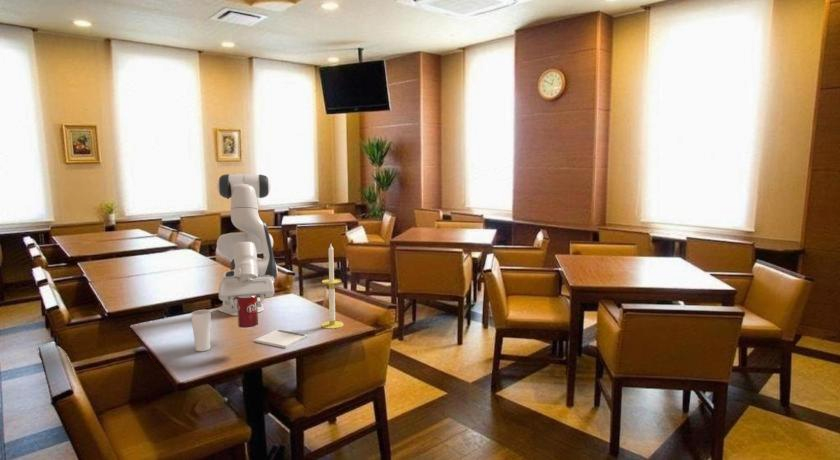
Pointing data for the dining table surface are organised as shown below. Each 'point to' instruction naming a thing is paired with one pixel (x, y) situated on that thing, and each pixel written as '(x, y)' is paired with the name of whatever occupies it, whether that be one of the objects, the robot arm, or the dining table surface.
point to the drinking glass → (201, 329)
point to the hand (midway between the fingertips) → (247, 307)
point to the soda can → (247, 311)
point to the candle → (331, 294)
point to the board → (281, 338)
